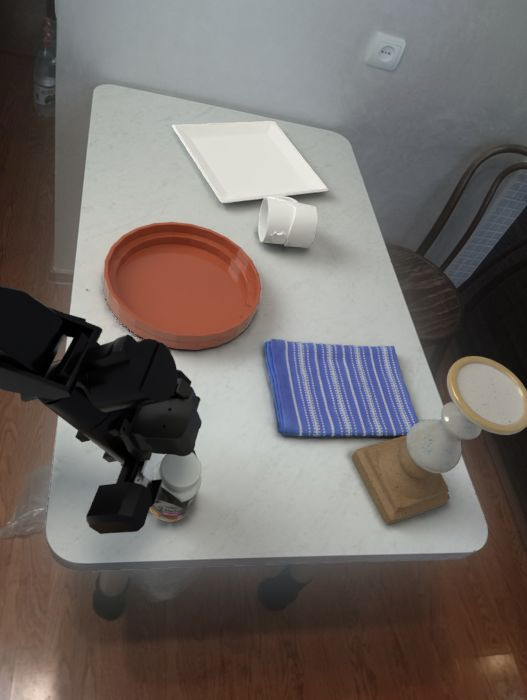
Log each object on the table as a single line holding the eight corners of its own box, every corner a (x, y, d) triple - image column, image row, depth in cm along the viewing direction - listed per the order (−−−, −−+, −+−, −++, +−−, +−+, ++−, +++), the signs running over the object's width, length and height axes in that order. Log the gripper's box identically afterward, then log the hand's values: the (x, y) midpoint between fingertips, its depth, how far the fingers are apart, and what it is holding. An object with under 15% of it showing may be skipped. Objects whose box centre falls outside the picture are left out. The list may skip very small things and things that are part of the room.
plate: (219, 210, 105) (221, 202, 104) (170, 132, 117) (171, 123, 116) (326, 197, 117) (330, 189, 116) (272, 127, 129) (274, 119, 128)
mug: (307, 259, 103) (320, 227, 97) (259, 252, 101) (270, 219, 95) (300, 218, 110) (312, 186, 104) (255, 211, 108) (265, 178, 102)
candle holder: (408, 438, 83) (498, 345, 65) (446, 503, 78) (555, 422, 60) (349, 455, 79) (428, 360, 61) (385, 526, 73) (484, 445, 55)
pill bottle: (139, 512, 66) (146, 479, 59) (158, 472, 70) (167, 436, 62) (182, 530, 66) (194, 499, 59) (199, 489, 70) (213, 455, 62)
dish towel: (259, 344, 87) (263, 333, 85) (390, 350, 94) (397, 340, 92) (274, 439, 77) (280, 430, 75) (420, 439, 84) (428, 430, 82)
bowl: (99, 347, 79) (100, 330, 76) (107, 232, 94) (107, 214, 91) (264, 355, 86) (270, 340, 83) (246, 246, 101) (251, 230, 98)
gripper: (123, 485, 44) (226, 560, 53) (185, 321, 56) (260, 406, 65) (35, 496, 49) (142, 562, 59) (108, 344, 61) (187, 420, 71)
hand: (187, 482), depth 63 cm, fingers closed on pill bottle, 6 cm apart
